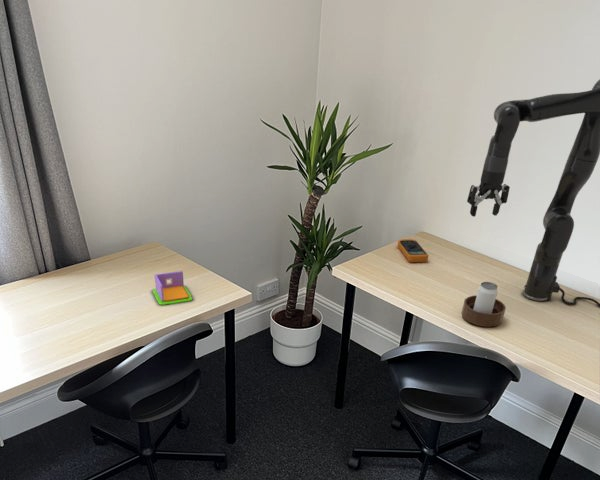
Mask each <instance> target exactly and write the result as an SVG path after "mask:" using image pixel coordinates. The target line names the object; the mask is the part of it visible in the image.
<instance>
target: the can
mask: <svg viewBox="0 0 600 480" xmlns="http://www.w3.org/2000/svg"><path fill="white" fill-rule="evenodd" d="M476 295H477V297H476V301H475V305H474V309H473V310H475V311H478V312H481V313H486V314H492V311H493V307H494V303H495V299H497V295H498V285H497V284H496V283H494V282H491V281H483V282H481V283H480V285H479V287H478V289H477V292H476Z"/></svg>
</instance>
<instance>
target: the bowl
mask: <svg viewBox="0 0 600 480" xmlns="http://www.w3.org/2000/svg"><path fill="white" fill-rule="evenodd" d="M476 297H477V294H475V295H469V296H468V297H466V298H464V301H463V305H462V309H461V316H462V318H463V319H464V320H465V321H467V322H468V323H471V324H473V325H474V326H475V325H476V326H479V327H489V328H490V327H495V326H499V325H501V324H502V322H503V319H504V316H505V314H506V313H505V312H506V309H507V307H506V304H504V302H502V301H501V300H499V299H498V298H496V299H495V303H494V307H493V311H492V314H486V313H481V312H478V311H475V310H473V309H474V305H475V301H476Z"/></svg>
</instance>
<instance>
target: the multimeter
mask: <svg viewBox="0 0 600 480" xmlns="http://www.w3.org/2000/svg"><path fill="white" fill-rule="evenodd" d="M397 248H398V249H399V251H401V253H402V254H403V255H404V256H405V258H406V260H407V261H408V262H409V263H426V262H428V259H429V254H428V253H427V252H426V251H425V249H424V248H423V247H422V246H421V244H420V243H419V242H418V240H416V239H412V238H402V239H401V238H400V239H399V240H397Z"/></svg>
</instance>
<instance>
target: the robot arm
mask: <svg viewBox="0 0 600 480" xmlns="http://www.w3.org/2000/svg"><path fill="white" fill-rule="evenodd" d="M578 114H584V115H583V118H582V120H581V124H580V127H579V129H578V131H577V134H576V136H575V139H574V142H573V144H572V146H571V149H570V151H569V154H568V157H567V159H566V162H565V165H564V168H563V170H562V173H561V176H560V179H559V181H558V185H557V188H556V191H555V193H554V195H553V197H552V199H551V201H550V203H549V205H548V207H547V209H546V211H545V213H544V215H543V219H542V226H543V228H544V233H543V237H542V239H541V241H540V242H539V243H538V244H537V246H536V250H535V253H534V257H533V259H532V263H531V266H530V270H529V273H528V277H527V280H526V284H525V285H524V286H523V292H522V294H523V296H524V297H525V298H527V299H528V300H531V301H536V302H546V301H550V300H551V298H552V294H553V293H555V294H556V293H559V292H561V297H560V298H561V301H562V303H564V304H566V305H571V306H573V305H574V306H575V305H576V304H577V300H586V301H591V302H592V303H594V304H596V305H597V306H598V307H599V308H600V302H599V301H598V300H596V299H594V298H591V297H587V296H576V297H574V298H573V302H572V301H568V300H566V299H565V298H564V297H565V294H566V292H565V290H563V289H562V288H561V286H560V284H559V282H558V281H557V279H558V276H557V272H558V269H559V266H560V264H561V261H562V257H563V255H564V252H566V250H567V247H568V246H569V242H570V241H571V238H572V235H573V231H574V228H575V221H574V218H573V217H572V215H571V213H572V209H573V206H574V203H575V200H576V198H577V196H578V194H579V193H580V191H581V190H582V189H583V188H584V186H585V185H586V184H587V182H588V181H589V180H590V179H591V176H592V175H593V172H594V171H595V167H596V165H597V163H598V161H599V158H600V79H598V80H597V81H596V82H595V83H594V85H593V86H592V88H591V89H590V90H586V91H579V92H567V93H566V92H565V93H564V92H563V93H552V94H546V95H543V96H538V97H533V98H527V99H514V100H508V101H504V102H502V103H500V104H499V105H497V106H496V108H495V109H494V112H493V119H494V121H495V122H496V128H495V130H494V131H495V132H494V135H492V136H491V138H490V140H489V144H488V147H487V153H486V156H485V159H484V162H483V167H482V172H481V176H480V183H479V185H478V186H477V185H474V184H471V186H470V189H469V192H468V196H467V200H466V202H467V203H469V205H470V206H471V207H470V210H469V214H470V216H471V217H473V218H475V217H476V215H477V211H478V206H479V205H480V204H481V203H482V202H483V201H484V200H489V199H490V200H494V202H495V203H494V204H493V207H492V212H491V214H492V215H493V216H495V217H496V216H498V214H499V213H500V209H501V206H502V205H503V204H507V202H508V198H509V193H510V186H509V185H508V184H506V183H504V180H505V176H506V173H507V169H508V164H509V156H510V153H511V148H512V143H513V141H514V139H515V136H516V134H517V131H518V129H519V126H520V123H521V122H528V123H537V122H541V121H545V120H550V119H555V118H561V117H565V116H571V115H578ZM500 192H501V193H500ZM500 194H501V195H500Z"/></svg>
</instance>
